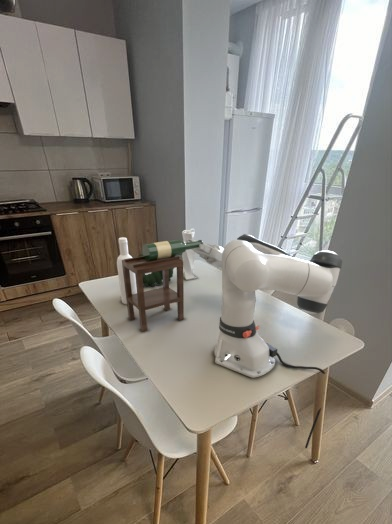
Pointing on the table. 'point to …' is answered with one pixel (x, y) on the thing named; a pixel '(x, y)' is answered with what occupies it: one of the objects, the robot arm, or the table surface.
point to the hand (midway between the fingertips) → (193, 243)
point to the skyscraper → (188, 256)
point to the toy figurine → (155, 277)
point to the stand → (156, 295)
